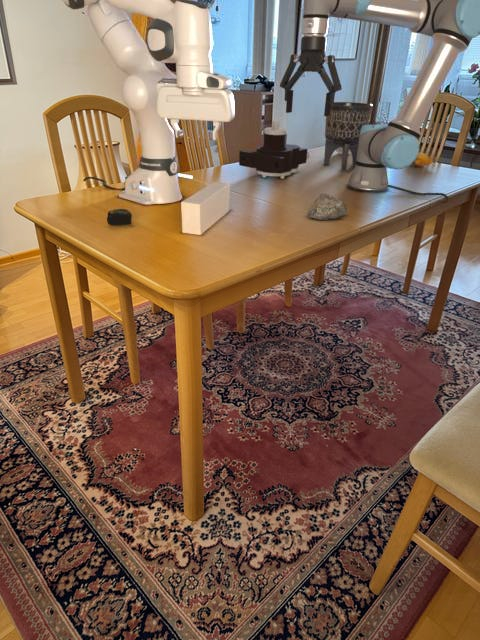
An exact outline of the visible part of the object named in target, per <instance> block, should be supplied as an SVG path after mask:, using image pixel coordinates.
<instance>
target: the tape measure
mask: <svg viewBox="0 0 480 640" xmlns="http://www.w3.org/2000/svg"><path fill="white" fill-rule="evenodd" d="M132 219H133V215H132V213H131V211H130V210H129V209H126V208H116V209H115V208H114V209H111V210H109V211H108V212H107V217H106V222H107V224H108V225H110V226H118V227H121V226H126V225H127V226H128V225H129V226H130V225H132V223H133V222H132Z"/></svg>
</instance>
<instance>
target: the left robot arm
mask: <svg viewBox="0 0 480 640" xmlns="http://www.w3.org/2000/svg"><path fill="white" fill-rule="evenodd" d="M61 1H62V2H63V3H64V4H65V6H66V7H68V8H69V9H71V10H81V9H84V8H85V6H87V15H88V16H87V17H88V18H89V20H90V23H91V25H92V27H93V30H94V31H95V33H96V35H97V37H98V38H99V41H101V42H100V43H101V44H102V45H103V47H104V48H105V50H106V51H107V53H108V54H109V56H110V57H111V59H112V61H113V62H114V63H115V66H116V67H117V68H118V69H119V70H120V71H122V72H123V73H125V74H126V75H128V76H127V77H126V78H125V79H124V80H123V82H122V84H121V89H120V91H121V97H122V100H123V102H124V104H125V105H126V107H127V108H128V109H129V110H130V111H131V113H132V114H133V117H134V119H135V121H136V124H137V128H138V132H139V138H140V147H141V156H140V157H136V161H135V162H136V163H138V168H136V169H135V170H134V171H133V172H131V174H129V175H128V176H124V187H122V188H116V187H113V186H110V185H107V184H106V180H104V179H101V178H98V177H95V176H87V177H84V179H83V180H82V181H83V182H86V181H87V180H96V181H99V182H102V186H103V187H105V188H106V189H109V190H115V191H116V190H117V191H121V192H119V194H118V197H119V198H121V199H124V200H128V201H131V202H133V203H134V202H135V203H138V204H141V205H144V206H146V205H148V206H149V205H161V204H164V205H165V204H171V203H172V204H173V203H177V202H179V201H181V200H183V195H182V192H181V188H180V183H179V179H178V177H181V178H186V179H193V178H194V177H193V176H194V175H190V174H184V173H178V156H177V155H176V139H183V138H184V130H183V129H181V128H180V126H179V123H180V120H184V121H185V120H187V121H203V122H212V123H213V124H212V126H214V128H213V130H212V131H211V132H209V133H208V134H209V135H208V136H209V141H217V139H218V132H219V131H220V129H221V126H222V123H230V122H232V121H233V120H234V119H235V115H236V108H235V97H234V94H233V91H232V90H231V89H230V87H231V86H232V80H231V78H229V77H227V76H224V75H222V74H220V73H217V72H215V71H213V62H212V56H211V55H212V52H213V49H214V38H213V37H214V36H213V29H212V28H213V27H212V19H211V13H210V9H209V7H208V6H207V4H205V3H204V2H202V1H198V0H176V1H174V0H61ZM126 12H127V13H132V14H137V15H142V16H146V17H148V18H151V19H152V20H151V21H150V22H149V24H148V26H147V28H146V33H145V40H144V39H143V37H142V36H141V34H140V32H139V30H137V28H136V26H135V25H134V23H133V22H132V20H131V19H130V17H129V15H128V14H127V13H126ZM164 63H165V64H175V72H176V73H174V72H172V71H171V70H170V69H169V67H167V66H166V65H165V64H164ZM168 119H169V120H170V123H169V122H168ZM171 126H172V127H171ZM175 138H176V139H175Z"/></svg>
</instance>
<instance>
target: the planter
mask: <svg viewBox="0 0 480 640" xmlns="http://www.w3.org/2000/svg"><path fill="white" fill-rule="evenodd" d="M373 107H374V106H373V104H372V103H367V102H353V101H334V103H333V104H331V110H330V116H325V124H324V125H325V126H324V139H325V144H324V156H323V157H324V158H323V165H325V166H328V165H330V163H331V158H332V156H333V154H334V153H335V152H336V149H338V148H340V147H342V153H341V166H340V170H341V172H345V171H347V167H348V166H347V165H348V159H349V154H348V152H349V150H350V151H351V152H350V154H351V157H352V158H351V159H352V160H351V161H352V166H353V167H355V165H356V158H357V151H358V143H359V135H360V131H361V128H362V126H363V125H370V121H371V116H372V112H373Z"/></svg>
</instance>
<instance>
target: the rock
mask: <svg viewBox="0 0 480 640" xmlns="http://www.w3.org/2000/svg"><path fill="white" fill-rule="evenodd" d="M347 213H348V207H347V205H346V204H345V202H344V201H343V200H342V199H339V198H338V197H335V196H333V195H330V194H327V193H324V192H321V194H320V195H319V197H318V198H316V199H315V200H314V201H313V202H312V203H311V204H310V207H309V209H308V211H307V216H308V217H309V218H310V219H316V220H318V221H327V220H335V219H339V218H340V217H343V216H345V215H346V214H347Z"/></svg>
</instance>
